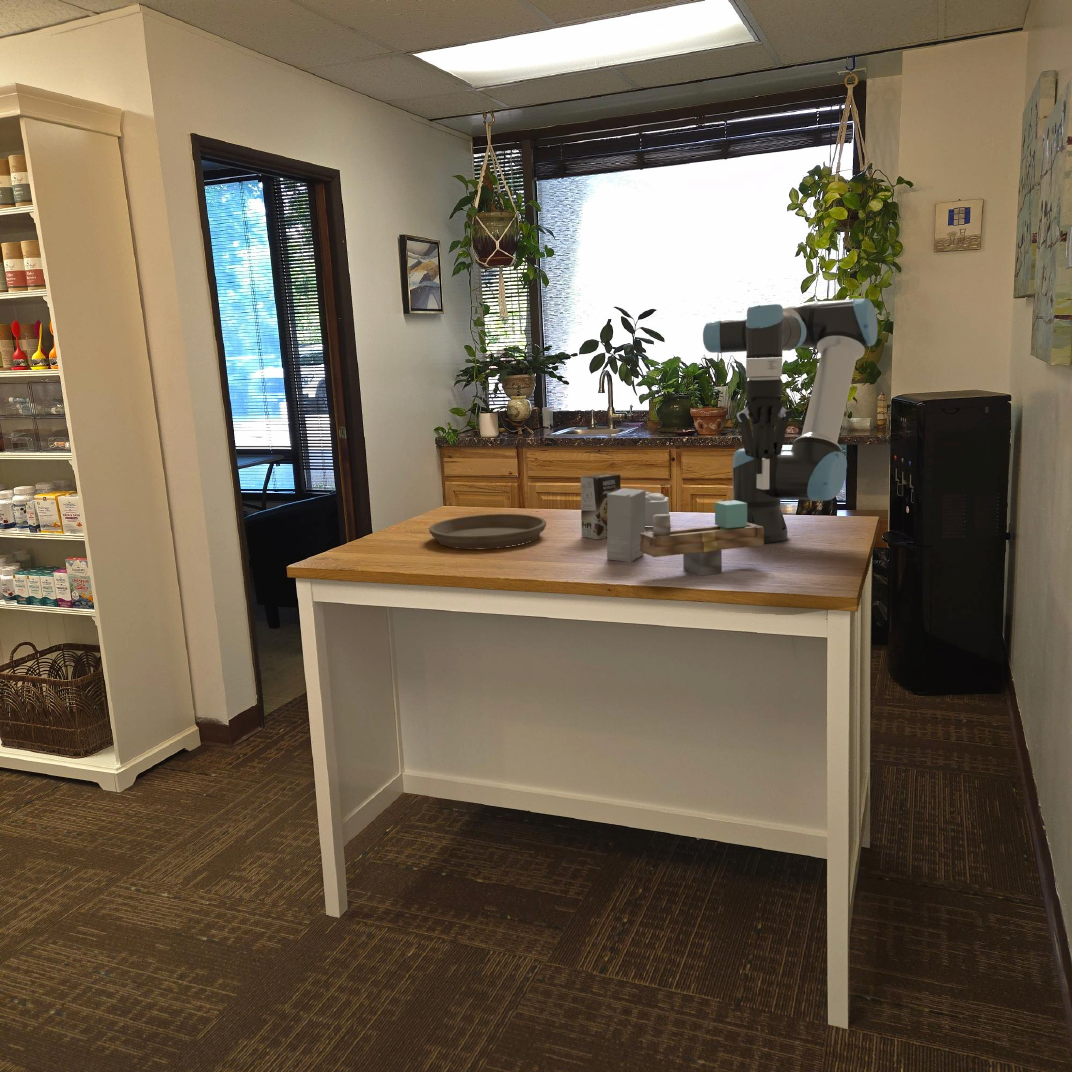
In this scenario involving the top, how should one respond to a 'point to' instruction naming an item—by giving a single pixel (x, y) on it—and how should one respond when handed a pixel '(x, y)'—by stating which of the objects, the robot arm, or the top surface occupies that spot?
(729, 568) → the top surface
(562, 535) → the top surface
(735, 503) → the block
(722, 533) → the beam
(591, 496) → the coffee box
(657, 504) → the lumpy-topped squat cylinder
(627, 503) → the skincare box
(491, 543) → the plant saucer
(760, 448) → the robot arm
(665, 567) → the top surface
